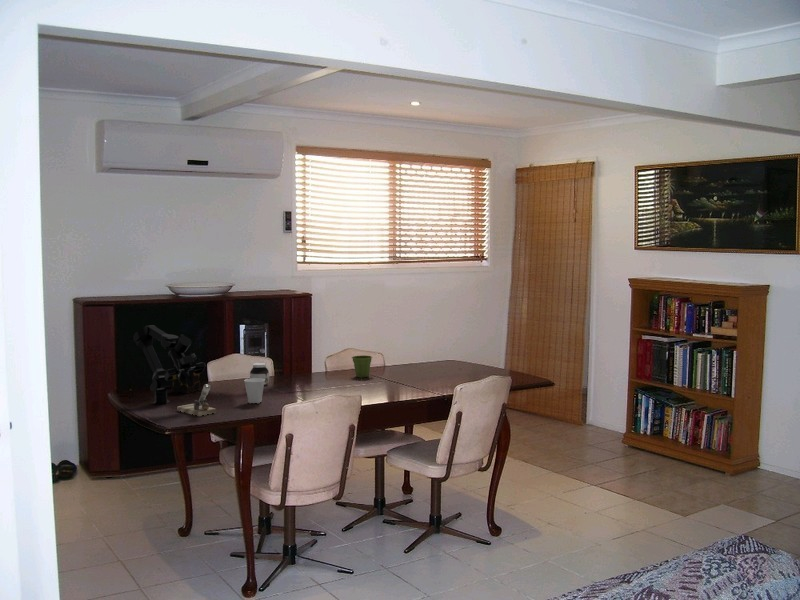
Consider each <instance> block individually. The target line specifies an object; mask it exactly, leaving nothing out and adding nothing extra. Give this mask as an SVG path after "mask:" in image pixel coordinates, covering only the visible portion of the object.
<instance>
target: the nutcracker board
mask: <svg viewBox="0 0 800 600" xmlns="http://www.w3.org/2000/svg"><path fill="white" fill-rule="evenodd" d="M176 410H177V412H180V411H181V412H180V413H184V412H185V413H184V414H188V415H192V414H193V415H192V416H195V415H197V417H203V416H202V415H204V416H208V415H207V414H209V415H213V414H212V413H214V414H217V408H214V407H210V404H209V403H208V399H206V398H205V401H204V404H203V405H202V406H199V400H197V399H193V403H189V404H185V405H184V404H183V405H179V406H178V405H177V409H176Z"/></svg>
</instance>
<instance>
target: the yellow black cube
mask: <svg viewBox="0 0 800 600" xmlns="http://www.w3.org/2000/svg"><path fill="white" fill-rule="evenodd" d="M172 381H173V382H172V392H173V393H178V392H182V393H181V394H191V393H190V392H192V393H194V391H195V392H198V391H197V390H199V391H201V382H200V373H199V374H195V373H194V374H193V384H194V386H193V387H191V386H189V385H188V384H187V383H185V382H184V381H182V380H178V375H174V376H173V379H172Z"/></svg>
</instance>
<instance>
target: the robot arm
mask: <svg viewBox="0 0 800 600" xmlns="http://www.w3.org/2000/svg"><path fill="white" fill-rule="evenodd" d="M132 339H133V342H134V344H136V346H137V347H138V348H140V349H141V350H142V351H143V354H144V356H145V359H146V361H147V362H148V365H149V367H150V369H151V371H152V374H153V375H152V378H151V381H152V382H151V384H150V386H149V389H150V392H153V393H154V401H153V402H152V404H153V405H167V404H168V403H169V402H170V400H168V391H169V390H172V388H173V380H172V379H173V376H174V375H178V380H182V381H184V382H185V383H187V384H188V385H189V386H191V387H193V386H194V384H193V374H194V373H195V374H199V375H200V374H202V373H204V371H205V369H206V367H207V365H206V363H205V362H203V361H201V362H198V363H197V362H196V363H195V361H197V359H198V358H197V355H196V354H195V353H191V354H189V355H185V353H186V352H187V350H188V349H189V348H190V346H191V344H192V340H191V338H189V337H188V336H186V335H185V334H179V336H178V335H175V334H170V333H169V334H168V333H166V332H165V331H164V330H161V329H160V328H158V327H157V326H156V325H154V324H152V325H145V326H144V327H143V328H141V329H140V330H137V331H135V333H134V334H133V336H132ZM154 339H155V340H157V341H159V342H160V345H161V347H163V348H164V349H165V350H169V349H170V350H169V351H168V353H167V357H168V358H169V357H170V358H171V359H172V362H173V367H175V368H169V369H164V368H163V366H162V363H161V362H160V359H159V357H158V354H157V353H156V351H155V348H154V346H153V341H154ZM193 363H195V364H194V366H192V365H193Z"/></svg>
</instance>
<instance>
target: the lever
mask: <svg viewBox="0 0 800 600" xmlns="http://www.w3.org/2000/svg"><path fill="white" fill-rule="evenodd" d="M210 389H211V385H209V384H207V383H205V384H204V385H203V387H202V389H201V391H200V393H201V394H200V396H199V399H198V401H199V406H202V405H203V404H204V401H205V399H206V398H207V396H208V395H209V392H210Z"/></svg>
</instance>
